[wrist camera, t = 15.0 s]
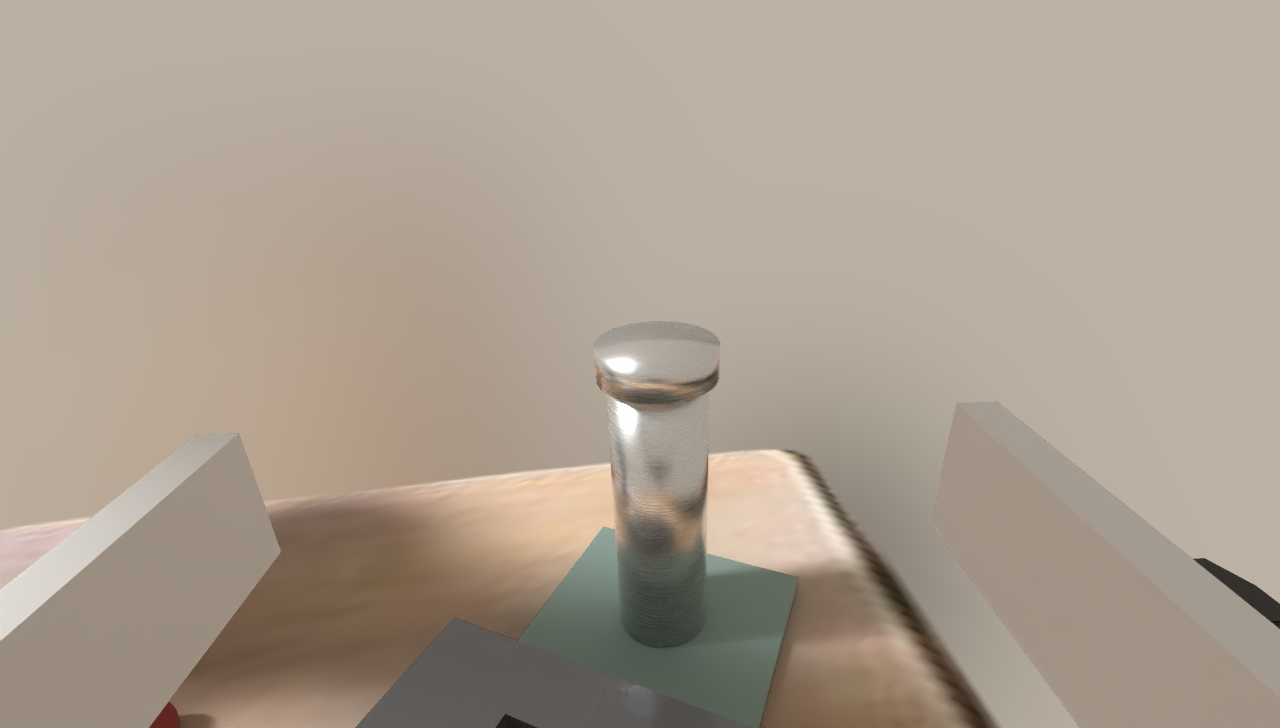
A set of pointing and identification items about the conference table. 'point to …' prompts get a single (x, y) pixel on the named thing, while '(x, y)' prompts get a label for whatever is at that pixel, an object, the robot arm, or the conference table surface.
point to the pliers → (167, 718)
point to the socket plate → (521, 691)
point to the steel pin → (659, 472)
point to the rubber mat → (694, 672)
